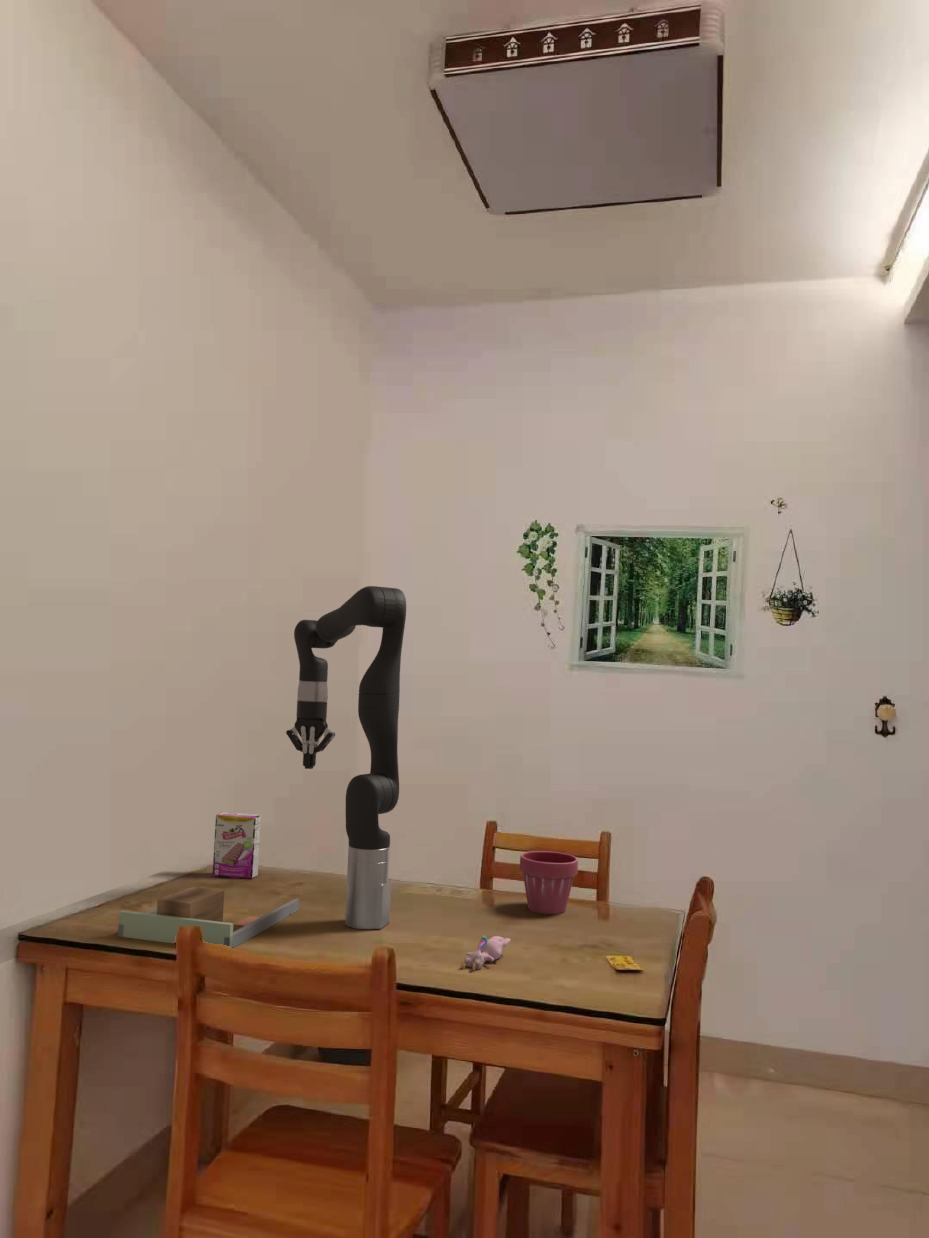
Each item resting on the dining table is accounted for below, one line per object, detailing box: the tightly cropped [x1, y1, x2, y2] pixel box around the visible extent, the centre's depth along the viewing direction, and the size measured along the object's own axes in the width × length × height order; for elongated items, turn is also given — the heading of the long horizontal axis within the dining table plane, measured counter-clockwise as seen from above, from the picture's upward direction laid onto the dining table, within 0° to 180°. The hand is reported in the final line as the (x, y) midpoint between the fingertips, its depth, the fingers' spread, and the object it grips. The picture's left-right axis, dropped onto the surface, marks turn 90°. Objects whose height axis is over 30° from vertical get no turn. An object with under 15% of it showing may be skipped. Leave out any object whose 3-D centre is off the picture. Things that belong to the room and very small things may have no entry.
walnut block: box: [156, 886, 225, 922], centre depth 197 cm, size 8×12×8 cm, turn 161°
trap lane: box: [117, 898, 300, 949], centre depth 205 cm, size 25×33×5 cm
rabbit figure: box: [460, 935, 512, 971], centre depth 186 cm, size 6×6×15 cm
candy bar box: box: [212, 811, 262, 879], centre depth 250 cm, size 11×5×16 cm, turn 84°
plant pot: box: [519, 850, 579, 915], centre depth 228 cm, size 14×14×13 cm
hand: (309, 768), depth 236 cm, fingers closed
